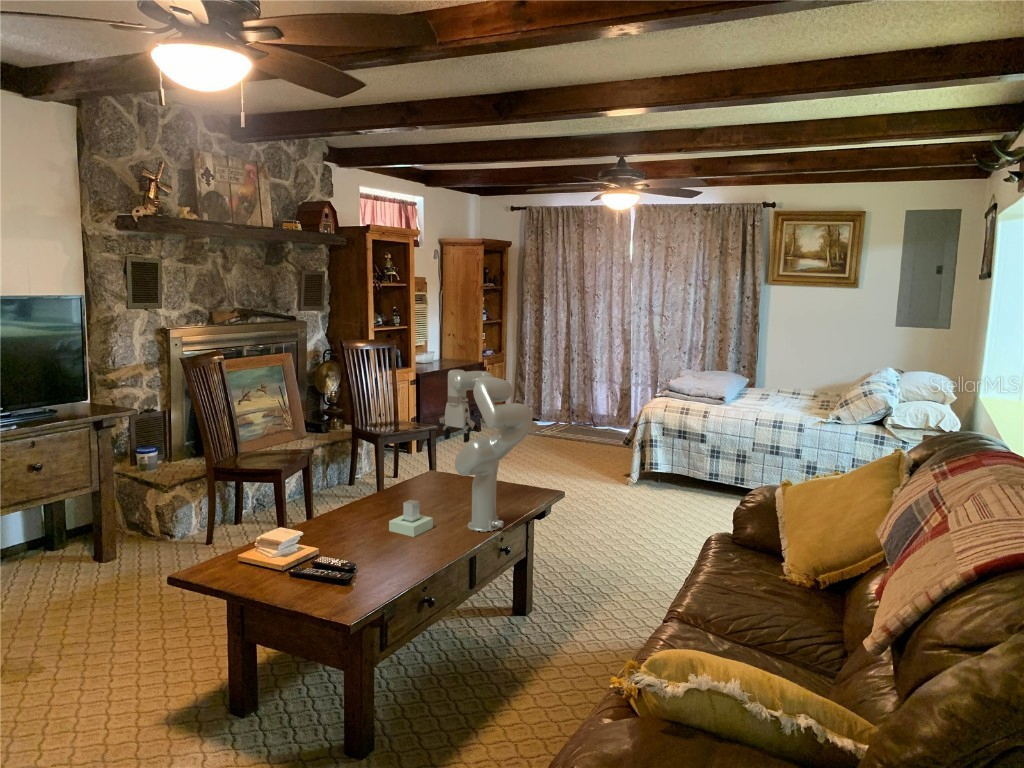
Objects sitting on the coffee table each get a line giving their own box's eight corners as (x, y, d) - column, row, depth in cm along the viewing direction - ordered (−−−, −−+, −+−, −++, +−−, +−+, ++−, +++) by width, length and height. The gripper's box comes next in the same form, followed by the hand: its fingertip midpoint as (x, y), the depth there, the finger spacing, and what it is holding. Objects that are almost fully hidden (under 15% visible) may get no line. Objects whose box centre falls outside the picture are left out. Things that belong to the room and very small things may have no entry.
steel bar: (419, 528, 281) (419, 501, 279) (412, 532, 277) (412, 504, 275) (410, 526, 283) (410, 499, 281) (403, 530, 279) (403, 502, 277)
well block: (432, 527, 282) (432, 517, 281) (413, 536, 272) (413, 526, 271) (408, 522, 288) (408, 512, 287) (389, 530, 278) (389, 521, 277)
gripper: (479, 400, 295) (479, 441, 297) (445, 396, 303) (445, 436, 306) (469, 403, 288) (469, 444, 291) (434, 399, 297) (434, 439, 299)
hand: (456, 440), depth 298 cm, fingers open, 9 cm apart
